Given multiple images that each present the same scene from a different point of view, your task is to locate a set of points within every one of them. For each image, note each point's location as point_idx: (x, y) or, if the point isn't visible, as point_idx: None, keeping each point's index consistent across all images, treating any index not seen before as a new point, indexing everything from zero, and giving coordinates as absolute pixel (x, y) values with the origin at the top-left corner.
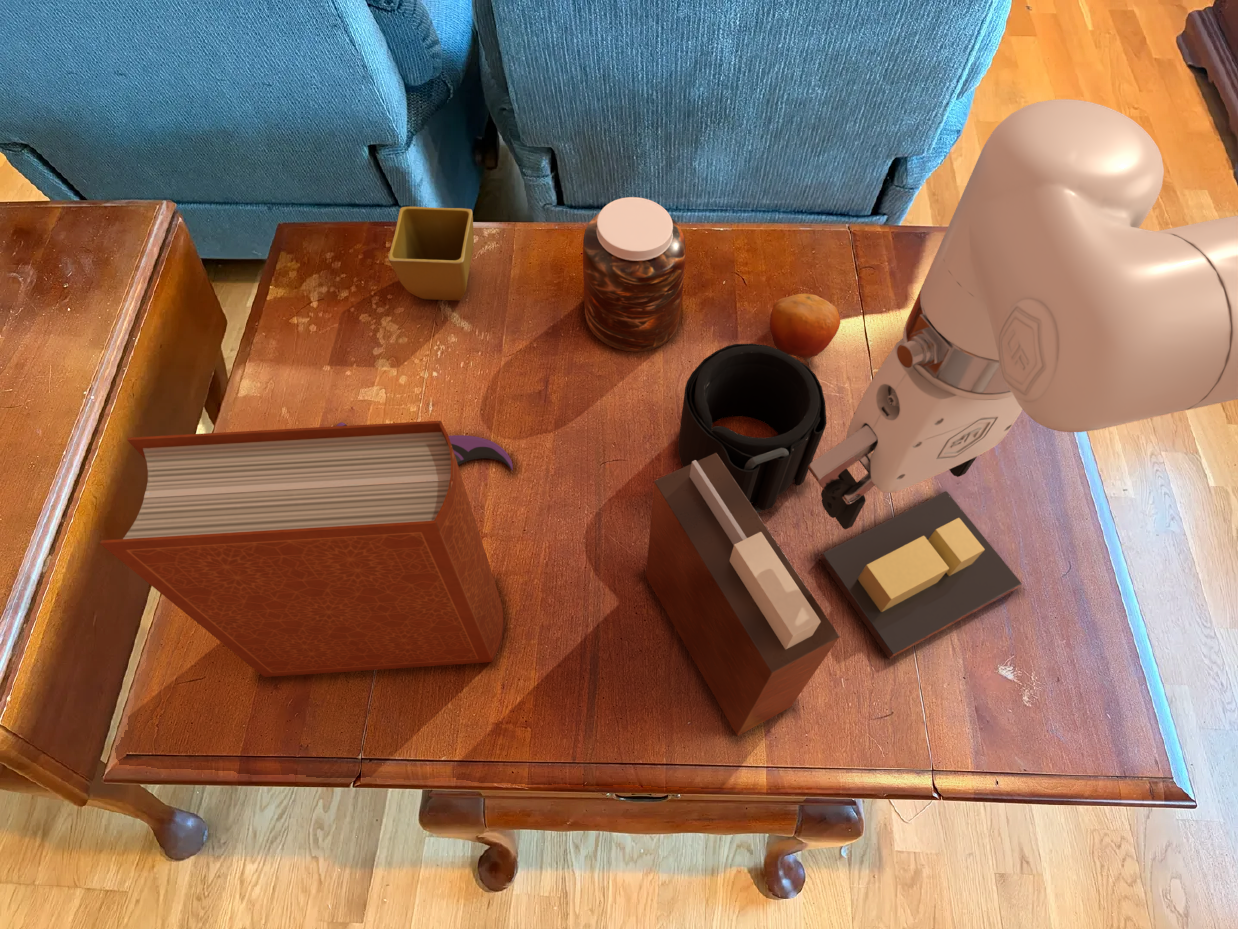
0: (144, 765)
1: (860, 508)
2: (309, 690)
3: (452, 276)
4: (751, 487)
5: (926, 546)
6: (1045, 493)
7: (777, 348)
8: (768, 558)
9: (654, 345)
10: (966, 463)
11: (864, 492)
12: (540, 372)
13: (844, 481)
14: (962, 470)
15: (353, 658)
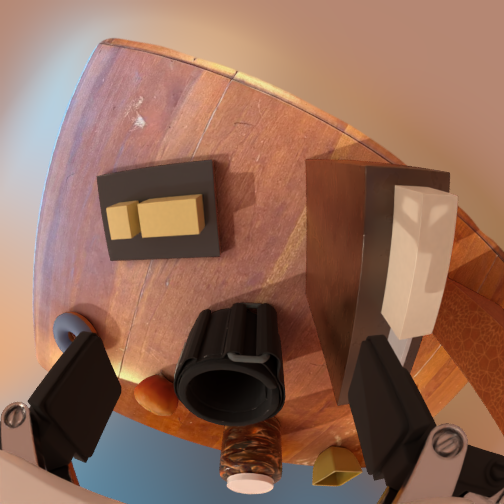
0: None
1: (407, 400)
2: (494, 293)
3: (338, 462)
4: (263, 333)
5: (144, 228)
6: (58, 231)
7: None
8: (418, 306)
9: None
10: (70, 365)
11: (428, 460)
12: (320, 414)
13: (467, 489)
14: (82, 346)
15: (490, 303)
